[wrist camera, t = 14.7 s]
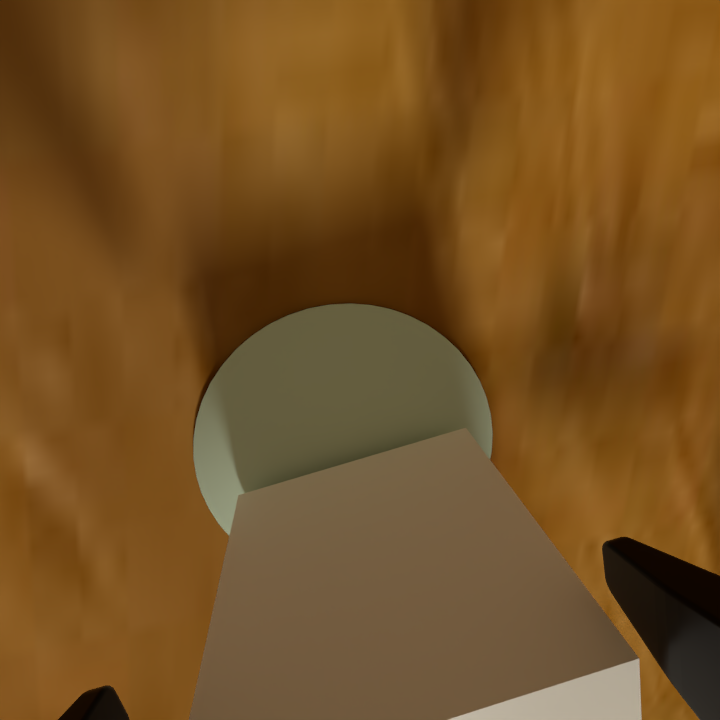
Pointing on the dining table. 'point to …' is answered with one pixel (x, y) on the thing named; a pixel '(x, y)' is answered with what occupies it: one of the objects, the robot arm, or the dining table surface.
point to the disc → (329, 399)
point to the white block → (406, 602)
